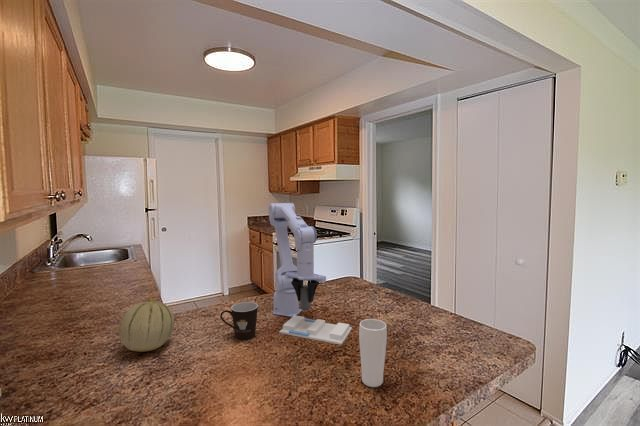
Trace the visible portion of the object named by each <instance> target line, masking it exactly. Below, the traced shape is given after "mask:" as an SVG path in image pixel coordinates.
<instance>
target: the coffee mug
mask: <svg viewBox="0 0 640 426" xmlns="http://www.w3.org/2000/svg"><path fill="white" fill-rule="evenodd" d="M258 309H259V304H257V303H256V302H253V301H243V302H238V303H236V304H235V303H234V304H233V305H232V306H231V307H230V310H228V309H225V310H222V312H220V314H219V315H220V317H219V318H220V320H221V321H222V322H223V323H225V324H226V325H227V326H229V327H231V328H232V329H233V331H234V337H235V339H236V341H240V342H244V341H250V340H252V339H254V338H255V337H256V331H257V330H256V329H257V318H258ZM224 313H228V314H229V315H230V316H231V317H232V322H233V323H232V324H231V323H230V322H228V321H227V320H225V319H224V318H223V315H224Z"/></svg>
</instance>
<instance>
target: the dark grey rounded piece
mask: <svg viewBox="0 0 640 426" xmlns="http://www.w3.org/2000/svg"><path fill="white" fill-rule="evenodd" d="M315 298H316V295H315V294H314V298H313V300H314V299H315ZM299 302H300V303H299V304H300V305H299V307H300V309H301V310H302V311H309V310H311V308H312V306H311V305H312V302H311V303H309V291H308V285H307V284H305V285H304V284H303V286H301V287H300V301H299Z"/></svg>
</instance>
